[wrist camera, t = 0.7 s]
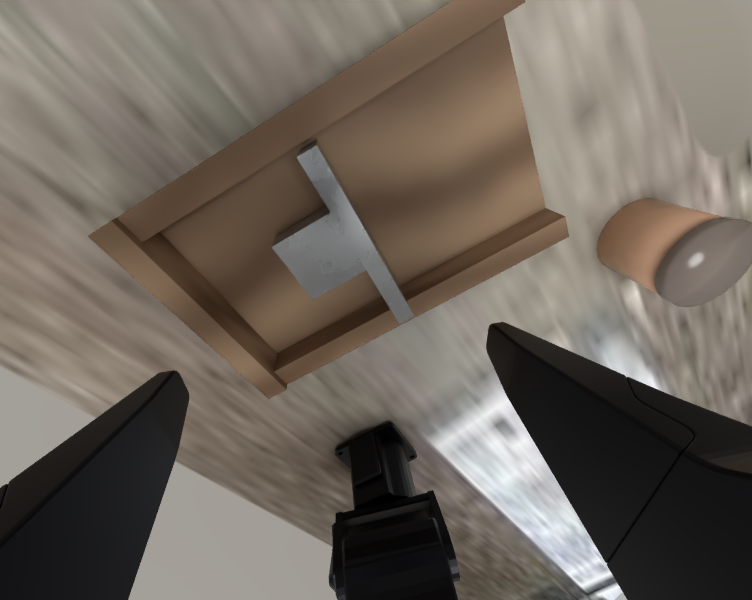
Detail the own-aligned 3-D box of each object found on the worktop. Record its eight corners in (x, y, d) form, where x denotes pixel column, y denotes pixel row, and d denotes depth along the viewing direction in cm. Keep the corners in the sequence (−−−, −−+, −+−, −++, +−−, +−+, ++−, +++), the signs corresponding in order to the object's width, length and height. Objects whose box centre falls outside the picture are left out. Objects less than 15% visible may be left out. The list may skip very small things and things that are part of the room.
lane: (541, 222, 23) (574, 239, 20) (274, 365, 26) (268, 398, 23) (485, -17, 16) (523, -47, 13) (124, 216, 19) (87, 236, 16)
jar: (667, 247, 26) (753, 280, 21) (599, 281, 27) (666, 321, 22) (668, 182, 23) (768, 201, 18) (591, 222, 24) (666, 252, 19)
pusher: (399, 285, 22) (414, 316, 19) (338, 318, 23) (341, 354, 19) (317, 138, 17) (316, 145, 14) (239, 187, 18) (220, 204, 14)
